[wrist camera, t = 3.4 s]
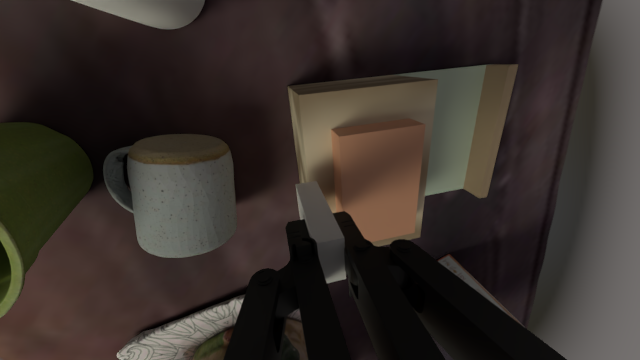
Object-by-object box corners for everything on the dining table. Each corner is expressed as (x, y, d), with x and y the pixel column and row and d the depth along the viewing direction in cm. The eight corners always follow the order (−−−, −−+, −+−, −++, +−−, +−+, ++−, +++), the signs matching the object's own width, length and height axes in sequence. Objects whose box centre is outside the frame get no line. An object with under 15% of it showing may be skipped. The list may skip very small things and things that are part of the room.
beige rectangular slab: (287, 86, 23) (298, 95, 16) (391, 74, 24) (438, 79, 18) (304, 217, 29) (317, 260, 22) (386, 201, 30) (420, 237, 24)
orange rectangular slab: (331, 129, 18) (339, 136, 16) (409, 118, 19) (425, 124, 17) (337, 232, 22) (344, 248, 20) (402, 219, 23) (414, 232, 21)
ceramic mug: (235, 130, 23) (224, 158, 16) (240, 208, 27) (232, 258, 20) (101, 126, 21) (22, 158, 14) (124, 212, 24) (70, 270, 17)
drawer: (391, 74, 24) (408, 76, 22) (491, 64, 26) (518, 64, 23) (386, 201, 30) (399, 214, 28) (467, 185, 32) (486, 196, 29)
